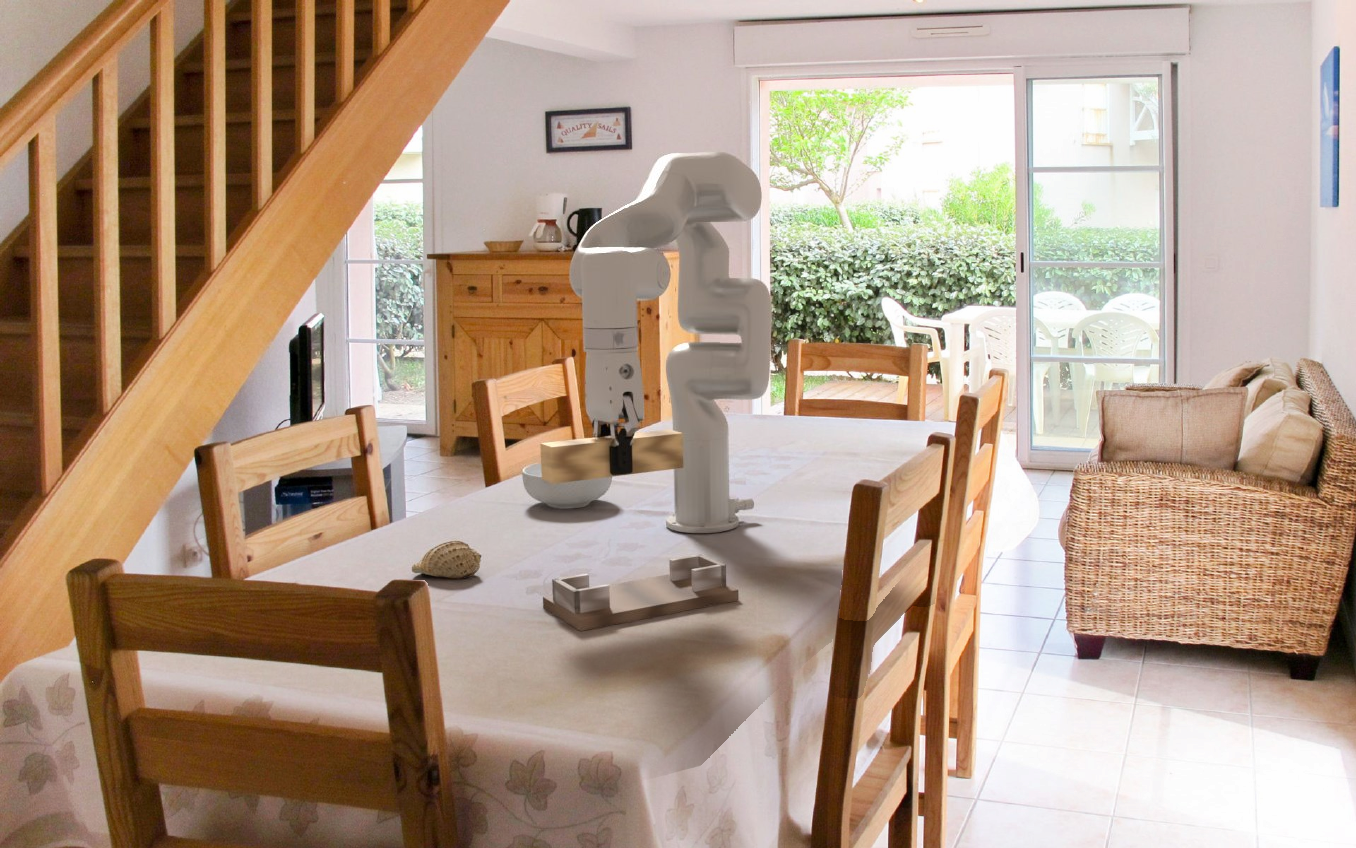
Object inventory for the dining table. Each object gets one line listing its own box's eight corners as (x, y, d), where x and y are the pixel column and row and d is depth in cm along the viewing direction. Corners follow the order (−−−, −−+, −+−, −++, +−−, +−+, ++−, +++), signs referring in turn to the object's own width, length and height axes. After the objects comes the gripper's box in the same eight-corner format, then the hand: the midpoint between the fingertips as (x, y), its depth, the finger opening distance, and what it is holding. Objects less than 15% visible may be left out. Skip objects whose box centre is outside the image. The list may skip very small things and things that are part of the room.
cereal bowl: (504, 506, 233) (503, 469, 232) (568, 491, 246) (566, 455, 245) (569, 518, 222) (567, 480, 221) (631, 501, 235) (630, 465, 234)
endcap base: (694, 580, 182) (693, 550, 181) (738, 600, 172) (738, 568, 171) (543, 607, 170) (541, 575, 170) (580, 631, 160) (579, 597, 159)
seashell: (430, 604, 183) (490, 569, 185) (410, 570, 181) (471, 536, 183) (424, 590, 190) (481, 557, 192) (404, 557, 189) (463, 524, 191)
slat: (670, 463, 181) (669, 429, 180) (683, 467, 177) (682, 433, 176) (541, 479, 171) (540, 443, 171) (553, 483, 168) (551, 447, 167)
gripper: (663, 342, 166) (665, 478, 169) (609, 335, 180) (612, 459, 183) (612, 346, 162) (615, 484, 165) (561, 338, 177) (565, 465, 180)
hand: (613, 469), depth 174 cm, fingers closed on slat, 4 cm apart
